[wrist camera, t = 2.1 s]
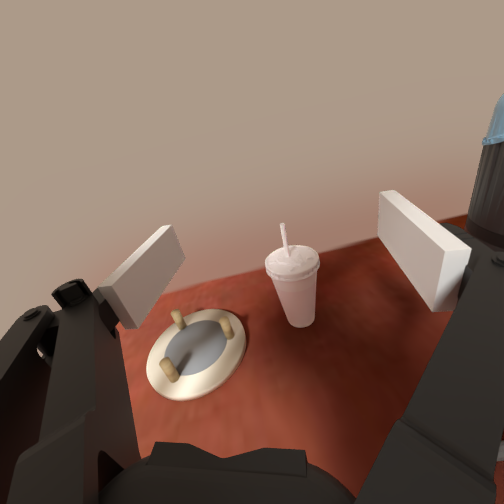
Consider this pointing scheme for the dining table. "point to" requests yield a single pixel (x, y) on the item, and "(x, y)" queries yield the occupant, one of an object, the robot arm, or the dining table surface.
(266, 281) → the dining table surface
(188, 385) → the cup holder base
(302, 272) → the smoothie
